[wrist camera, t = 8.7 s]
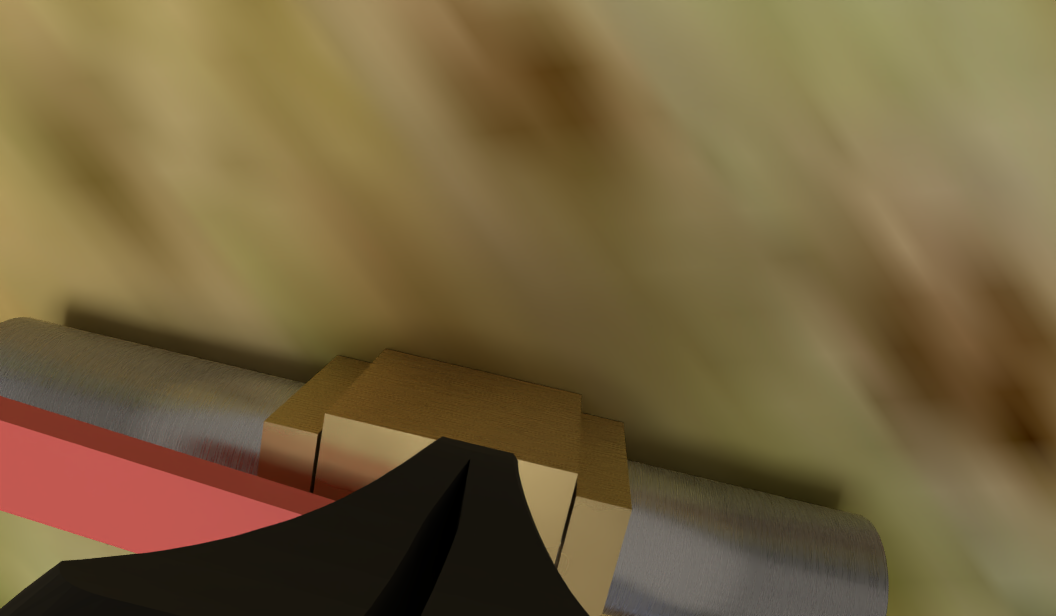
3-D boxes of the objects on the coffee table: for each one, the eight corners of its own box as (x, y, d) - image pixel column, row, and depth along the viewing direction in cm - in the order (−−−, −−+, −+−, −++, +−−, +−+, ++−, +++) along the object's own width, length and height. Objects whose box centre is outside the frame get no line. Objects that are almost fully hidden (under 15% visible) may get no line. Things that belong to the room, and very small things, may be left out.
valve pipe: (857, 459, 22) (944, 570, 16) (793, 628, 23) (853, 778, 18) (63, 272, 23) (-104, 318, 17) (56, 448, 24) (-97, 540, 19)
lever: (510, 531, 17) (505, 556, 16) (472, 650, 18) (465, 680, 17) (-31, 362, 17) (-69, 376, 16) (-41, 488, 18) (-77, 509, 17)
